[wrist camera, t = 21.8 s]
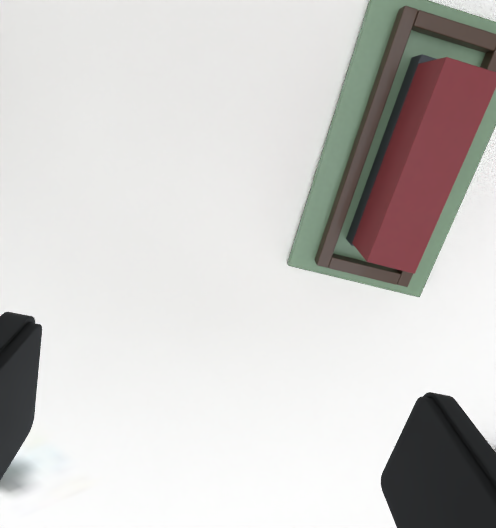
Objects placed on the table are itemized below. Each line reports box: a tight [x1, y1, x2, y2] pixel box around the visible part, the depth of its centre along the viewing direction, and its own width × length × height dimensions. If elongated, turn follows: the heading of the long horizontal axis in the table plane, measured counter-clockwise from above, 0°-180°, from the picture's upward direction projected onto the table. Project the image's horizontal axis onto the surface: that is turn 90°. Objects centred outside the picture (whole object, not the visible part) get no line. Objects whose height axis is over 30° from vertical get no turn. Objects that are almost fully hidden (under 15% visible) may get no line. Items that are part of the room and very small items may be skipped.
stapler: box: [346, 54, 496, 274], centre depth 30 cm, size 14×4×6 cm, turn 165°
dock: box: [288, 0, 496, 297], centre depth 32 cm, size 12×21×2 cm, turn 165°
